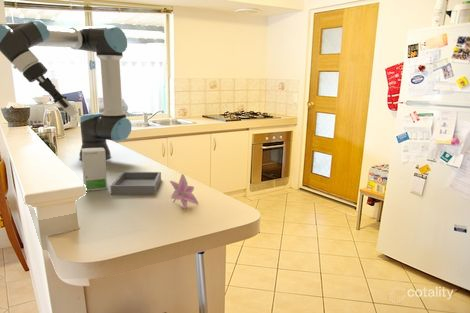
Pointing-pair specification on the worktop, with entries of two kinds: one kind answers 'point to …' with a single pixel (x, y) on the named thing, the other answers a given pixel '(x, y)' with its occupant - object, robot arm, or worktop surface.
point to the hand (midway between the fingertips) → (74, 114)
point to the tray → (136, 183)
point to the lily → (183, 192)
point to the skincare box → (94, 168)
